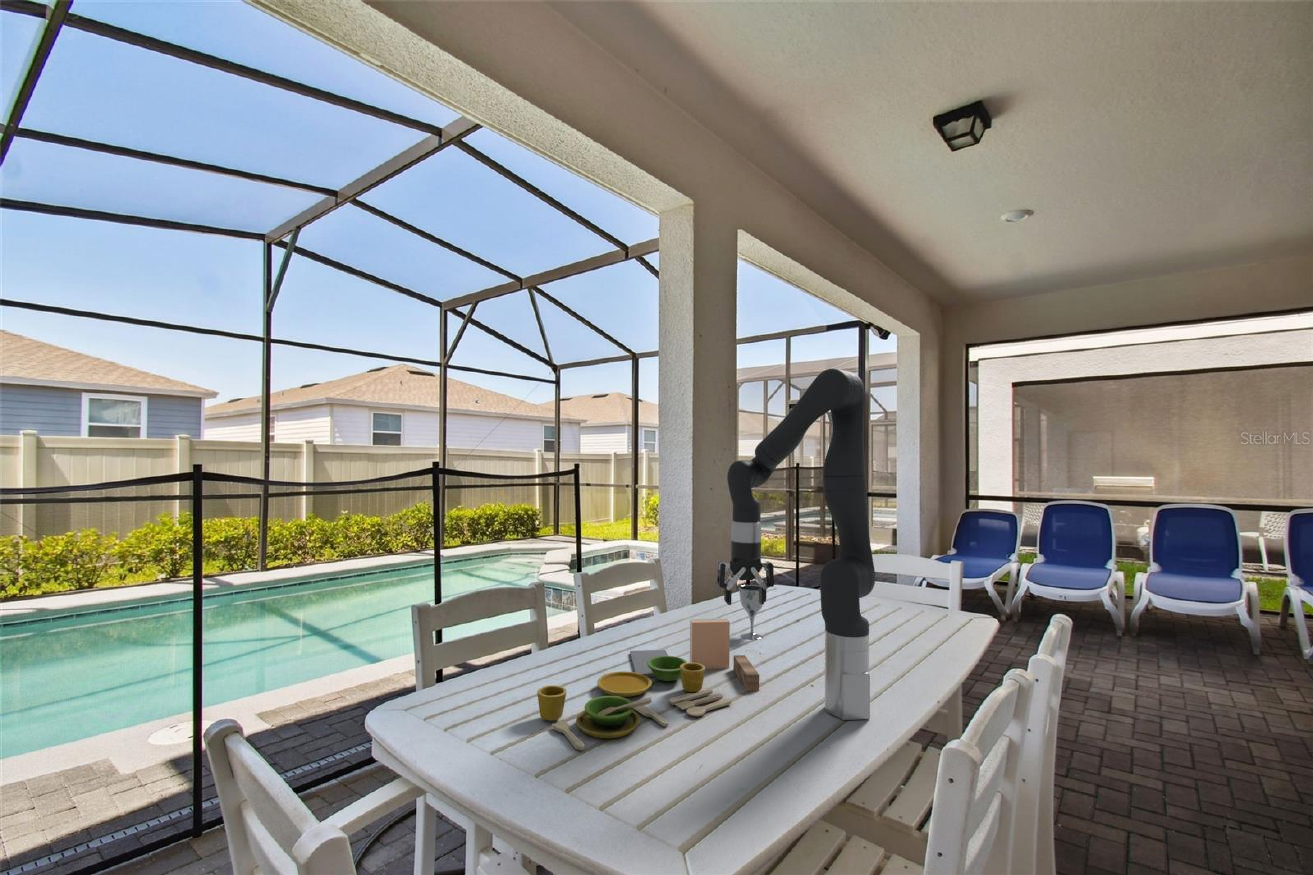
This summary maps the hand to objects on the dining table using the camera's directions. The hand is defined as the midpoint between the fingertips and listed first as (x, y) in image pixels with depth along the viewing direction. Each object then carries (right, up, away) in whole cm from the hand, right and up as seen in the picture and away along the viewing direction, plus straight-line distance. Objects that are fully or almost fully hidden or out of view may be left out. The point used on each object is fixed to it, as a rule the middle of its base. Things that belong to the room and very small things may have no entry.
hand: (745, 604), depth 148 cm
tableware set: (-28, -17, -18) cm, 38 cm away
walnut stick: (0, -19, -2) cm, 19 cm away
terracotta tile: (-8, -19, +7) cm, 22 cm away
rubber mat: (-24, -18, +8) cm, 31 cm away
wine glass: (+7, -20, +34) cm, 40 cm away
